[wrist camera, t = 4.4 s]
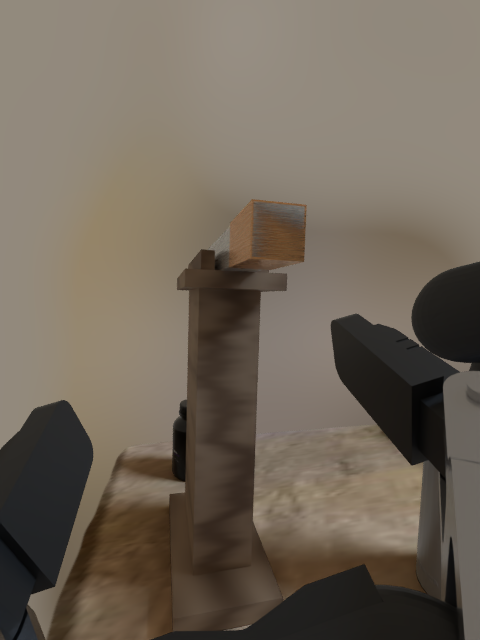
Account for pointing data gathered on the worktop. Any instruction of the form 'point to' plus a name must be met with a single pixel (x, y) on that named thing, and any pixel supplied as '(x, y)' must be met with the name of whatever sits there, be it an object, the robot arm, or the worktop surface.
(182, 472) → the supplement bottle
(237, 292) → the post
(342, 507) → the worktop surface
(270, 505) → the worktop surface
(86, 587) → the worktop surface
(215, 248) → the grey and tan bar
